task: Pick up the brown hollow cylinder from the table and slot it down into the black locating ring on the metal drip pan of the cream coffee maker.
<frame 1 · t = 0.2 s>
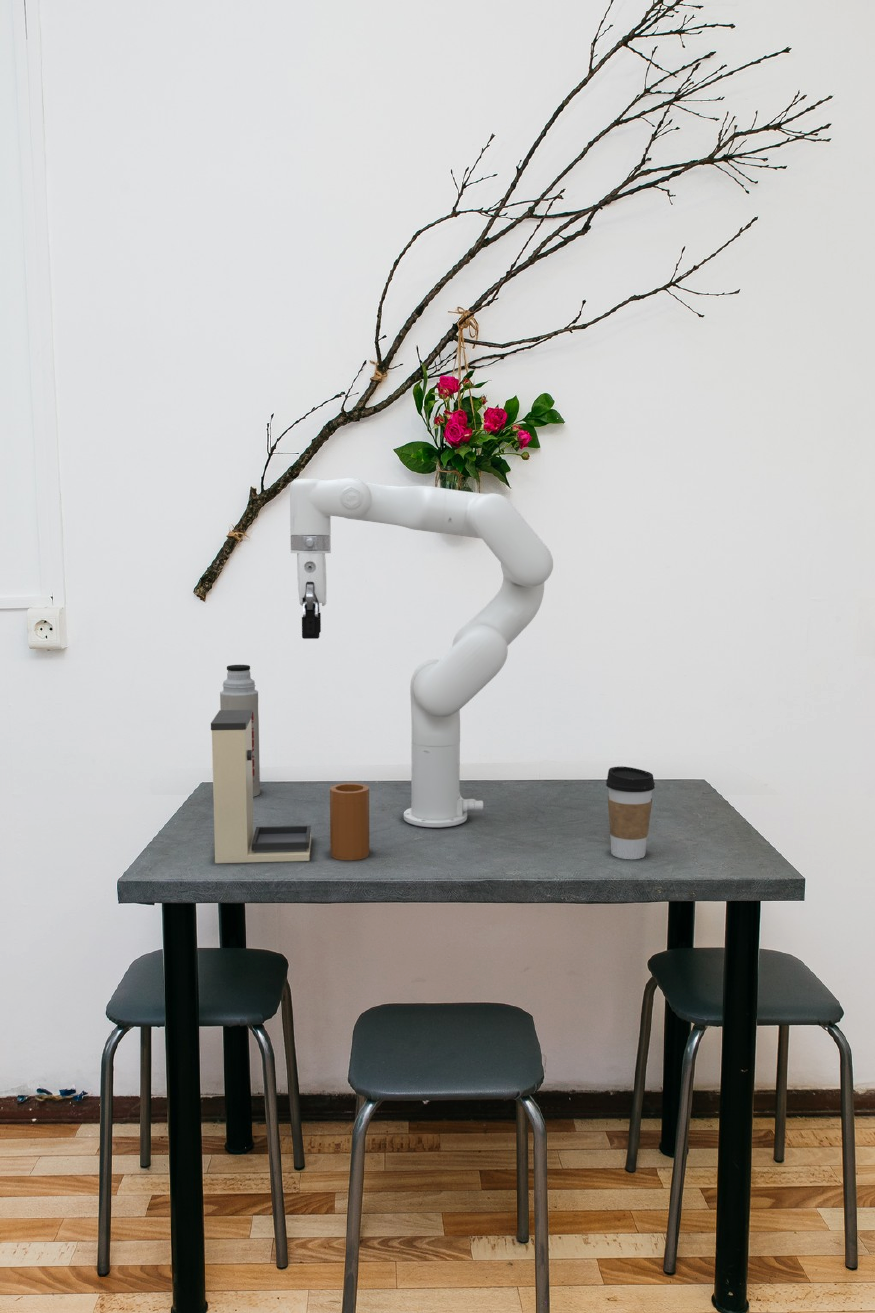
hand: (311, 635, 189), 37 cm above the table, tool pointing down, fingers open, 9 cm apart
thermos bottle: (241, 794, 214), on the table
brown hollow cylinder: (349, 854, 174), on the table
coffee cup: (628, 855, 175), on the table
coffee maker: (265, 851, 176), on the table
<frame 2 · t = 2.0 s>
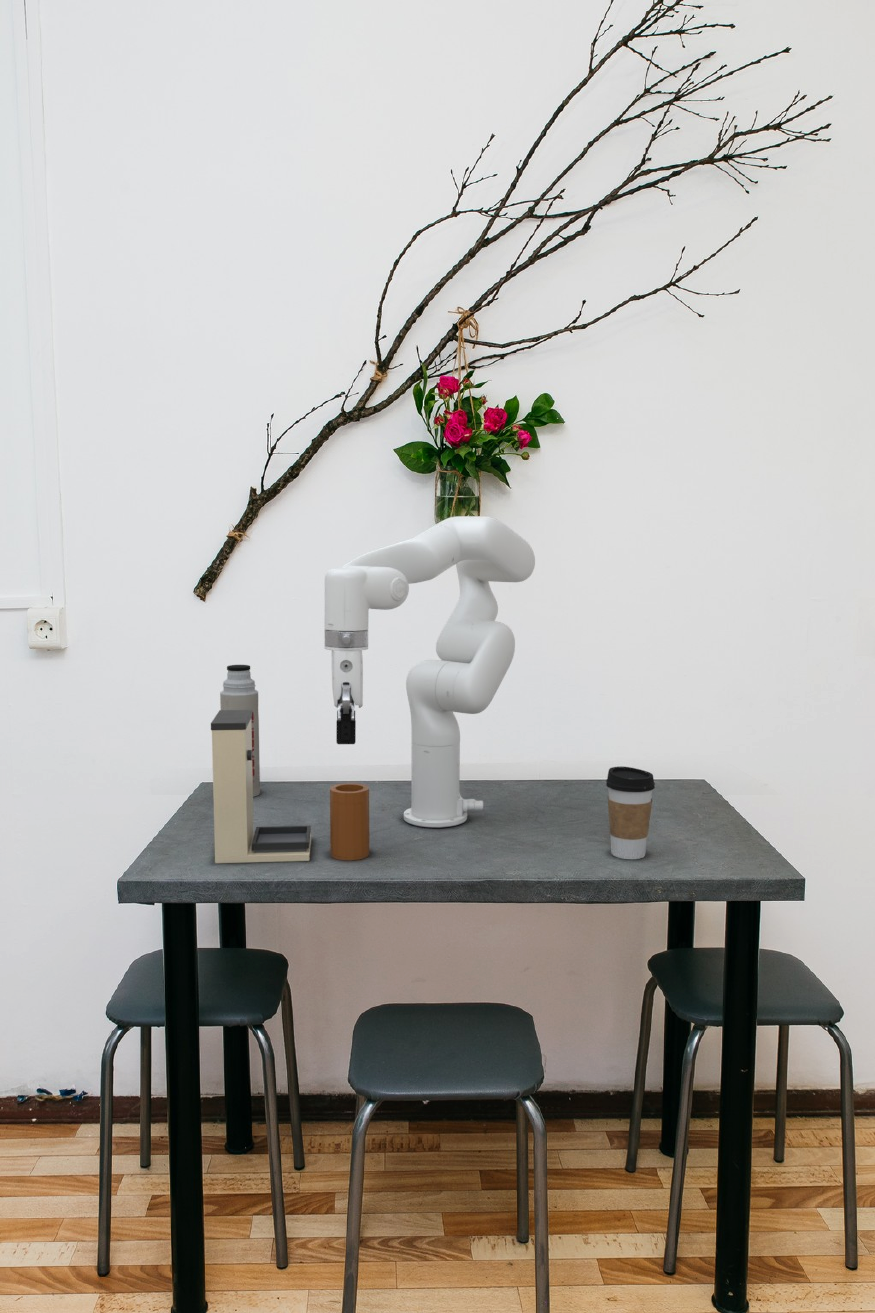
hand: (346, 738, 172), 21 cm above the table, tool pointing down, fingers open, 9 cm apart
nothing on the table moved.
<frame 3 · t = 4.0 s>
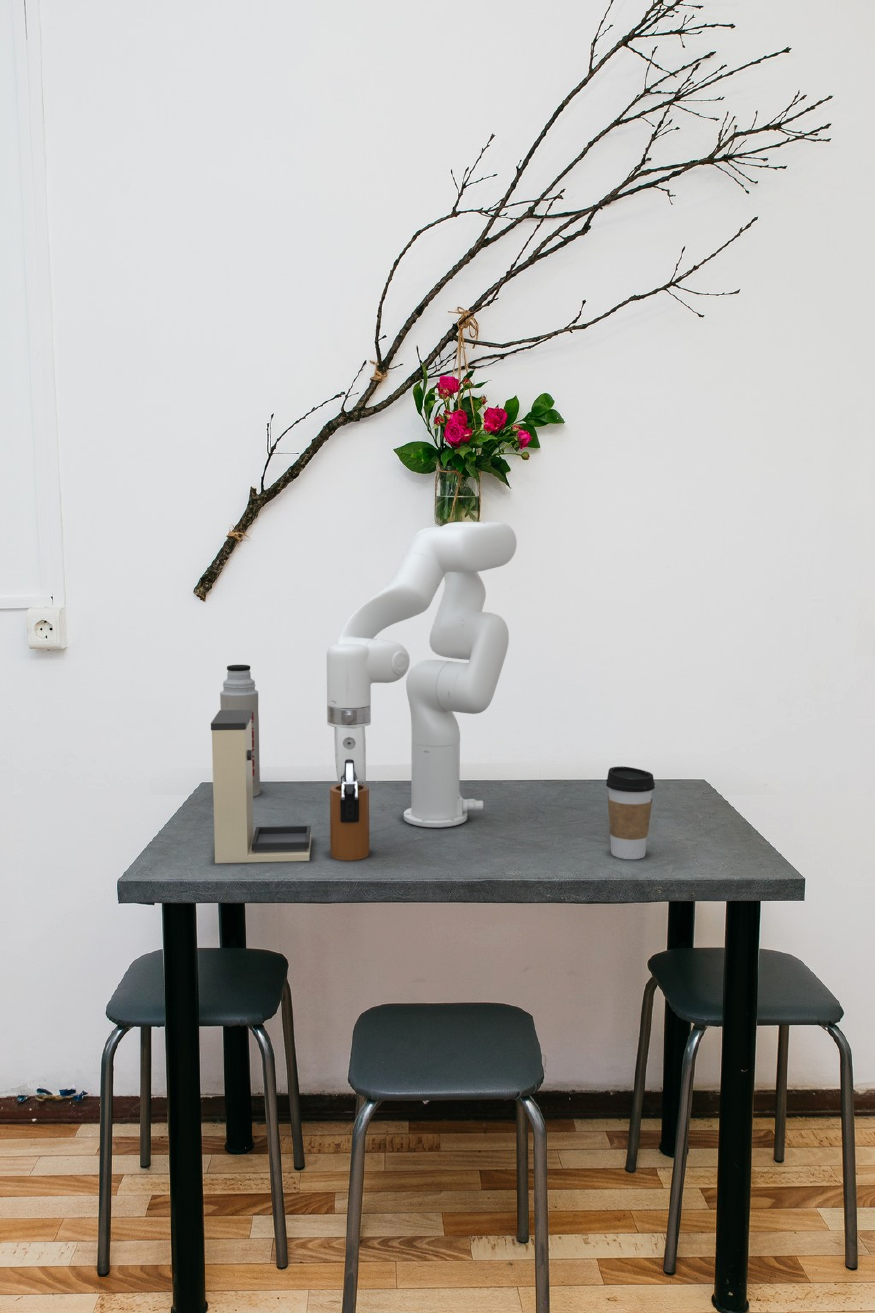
hand: (349, 814, 173), 7 cm above the table, tool pointing down, fingers closed on brown hollow cylinder, 6 cm apart
brown hollow cylinder: (349, 854, 174), on the table, touching gripper
everything else where it was.
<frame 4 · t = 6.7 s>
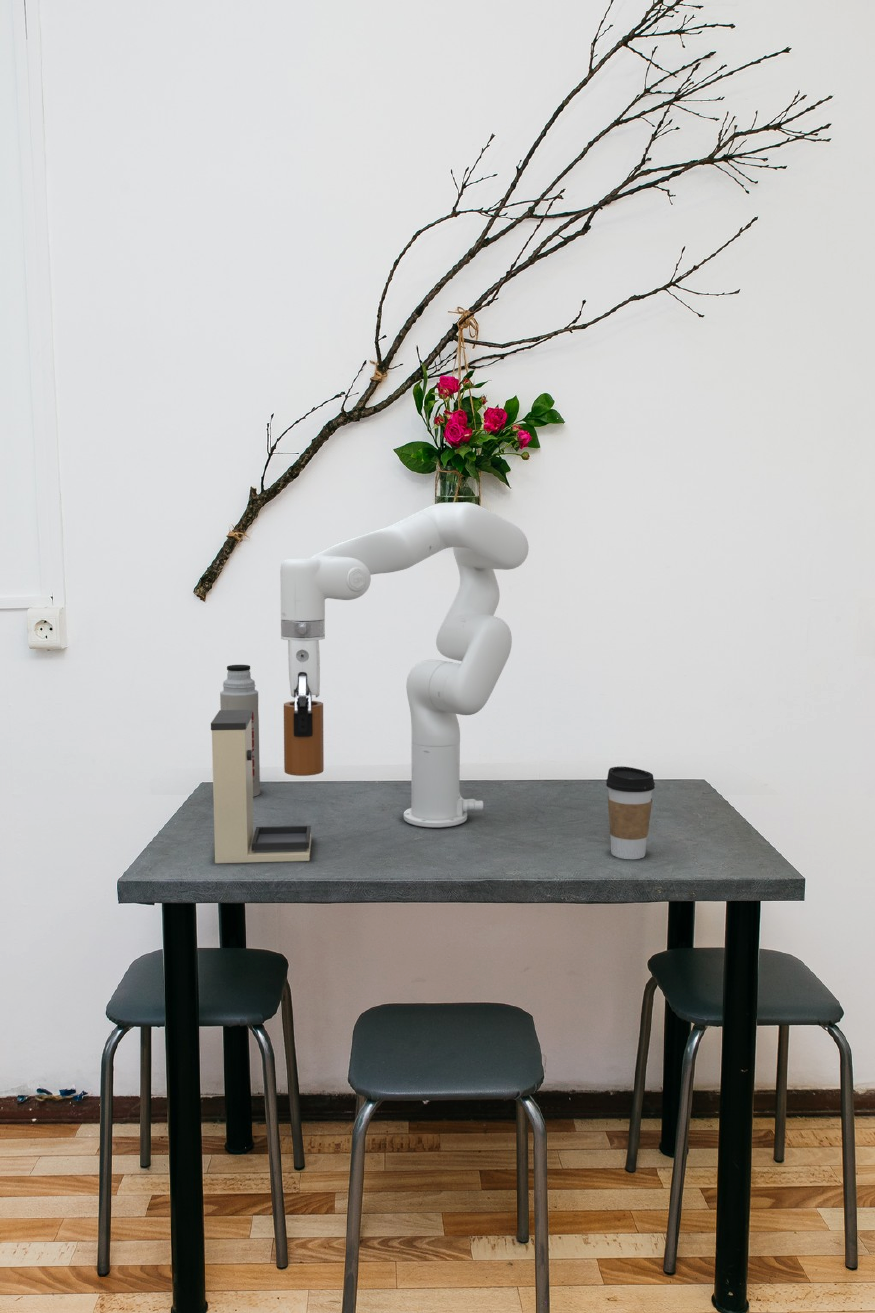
hand: (303, 731, 173), 22 cm above the table, tool pointing down, fingers closed on brown hollow cylinder, 6 cm apart
brown hollow cylinder: (304, 771, 173), point 15 cm above the table, touching gripper
everything else where it was.
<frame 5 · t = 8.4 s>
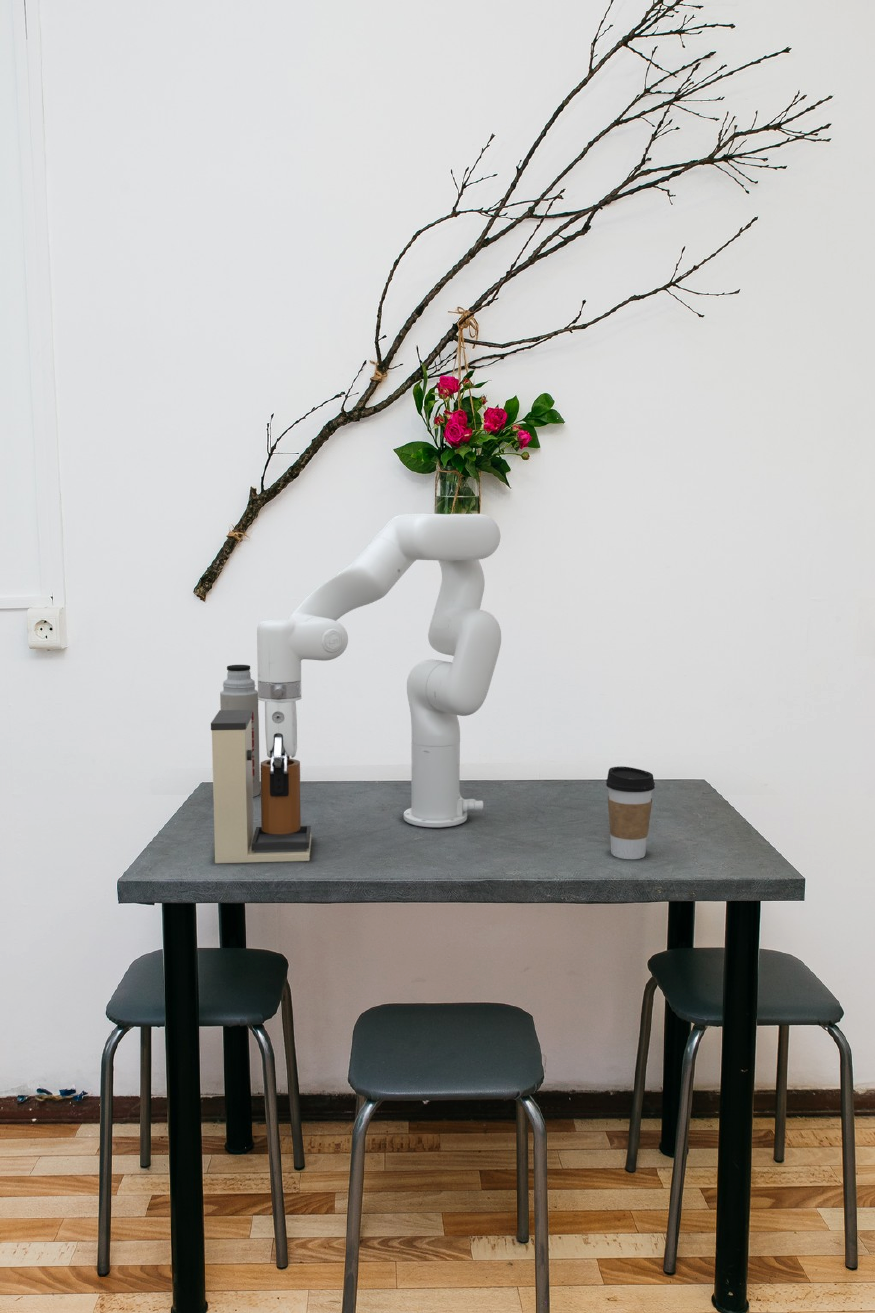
hand: (280, 789, 175), 11 cm above the table, tool pointing down, fingers closed on brown hollow cylinder, 6 cm apart
brown hollow cylinder: (281, 828, 176), point 4 cm above the table, touching gripper
everything else where it was.
when the fingers open (9 cm above the table, at t = 9.6 s): brown hollow cylinder stays where it is, resting on coffee maker.
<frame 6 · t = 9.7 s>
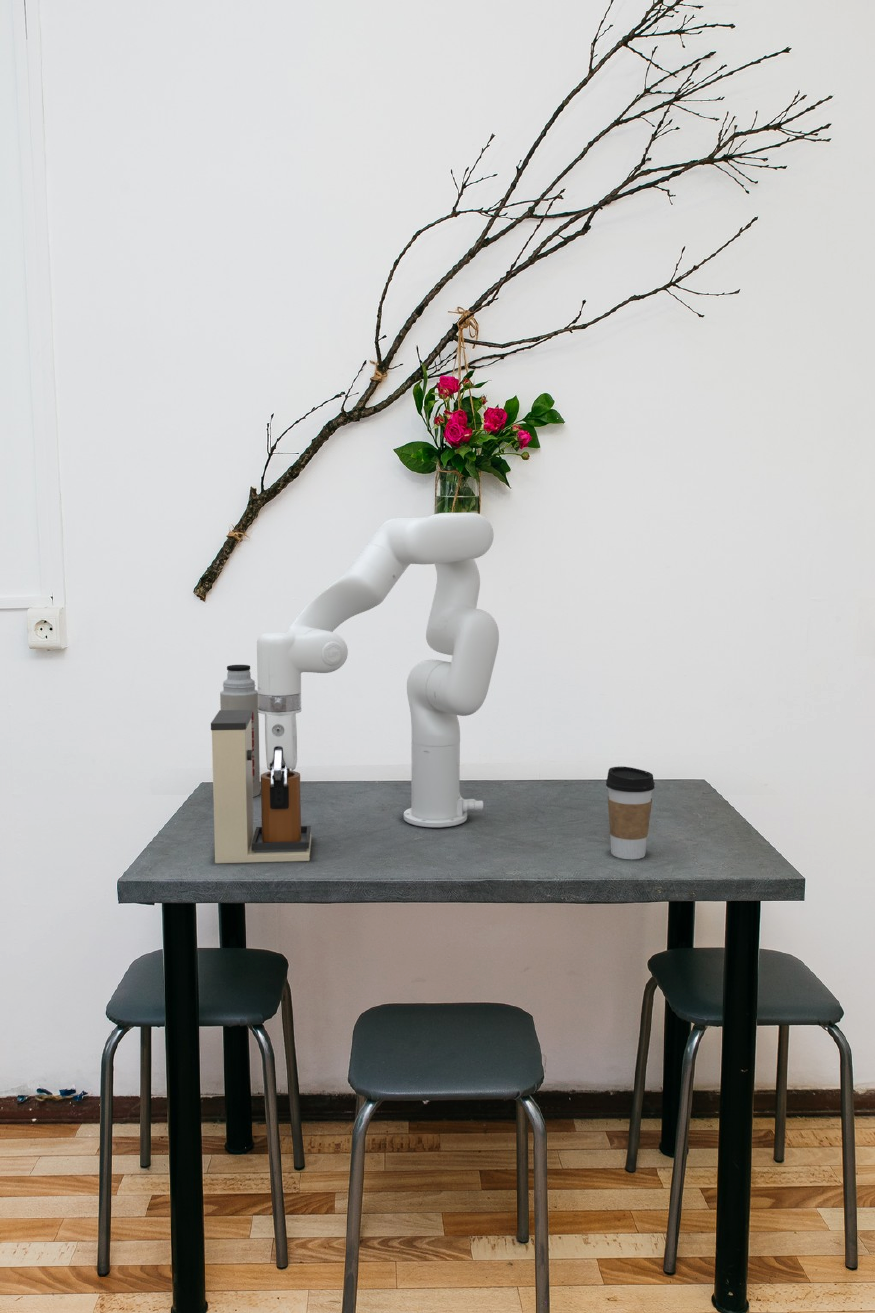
hand: (280, 801, 175), 9 cm above the table, tool pointing down, fingers open, 7 cm apart
brown hollow cylinder: (281, 840, 176), point 2 cm above the table, touching coffee maker
everything else where it was.
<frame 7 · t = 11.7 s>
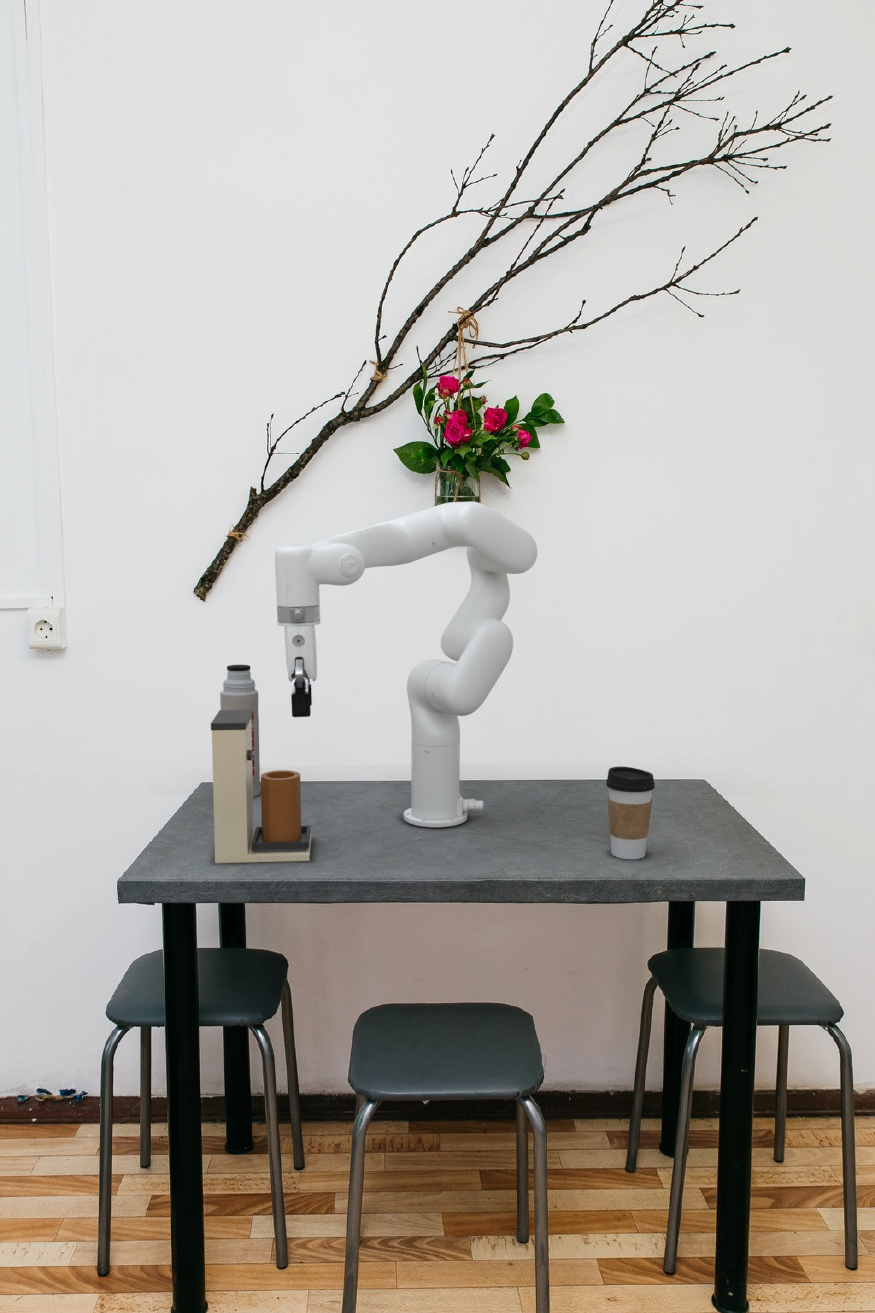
hand: (302, 711, 177), 24 cm above the table, tool pointing down, fingers open, 9 cm apart
nothing on the table moved.
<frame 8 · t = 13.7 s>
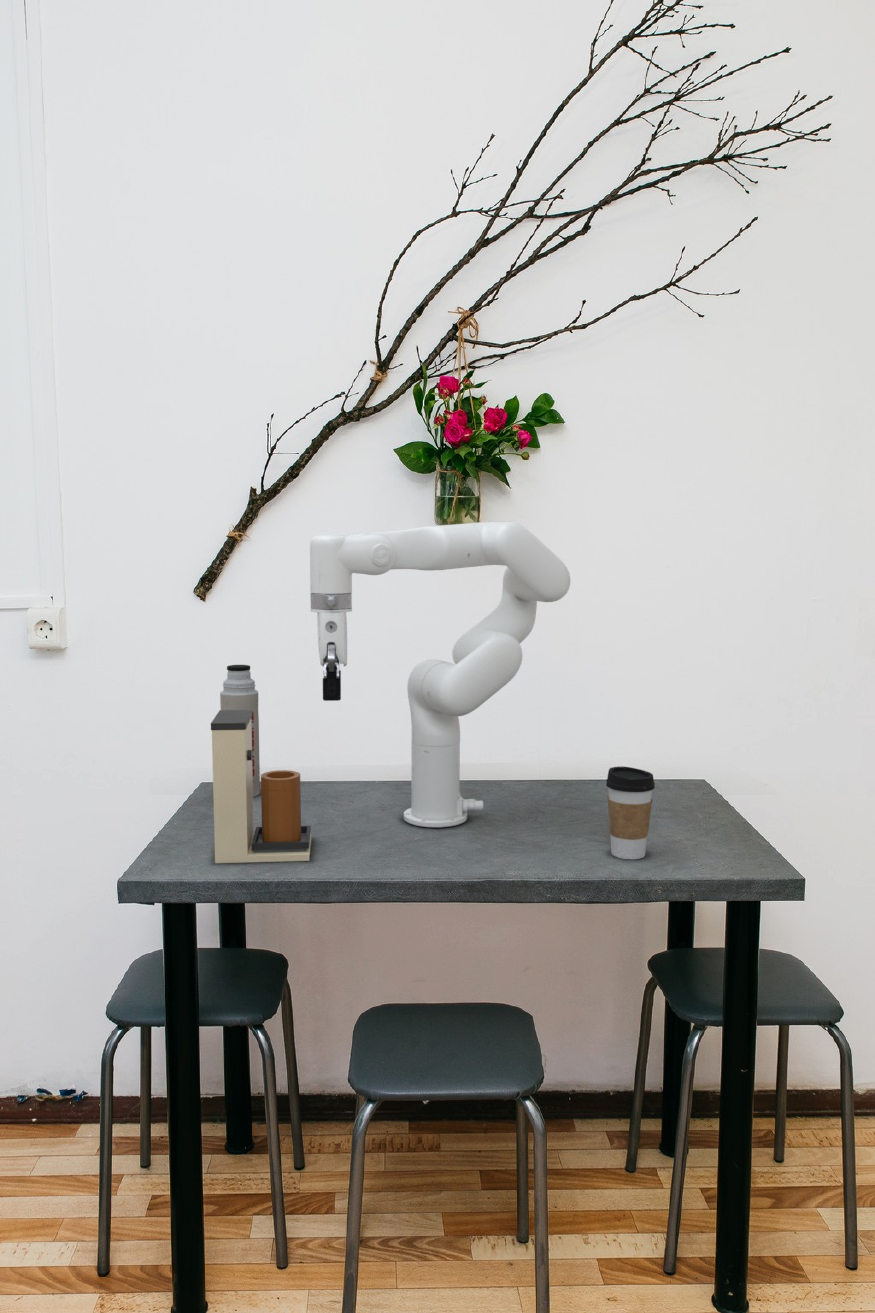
hand: (332, 695, 182), 26 cm above the table, tool pointing down, fingers open, 9 cm apart
nothing on the table moved.
at the end: brown hollow cylinder 0.0 cm from the target spot on the coffee maker, point 1.8 cm above the coffee maker's base; brown hollow cylinder tilted 0°; the gripper is holding nothing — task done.
